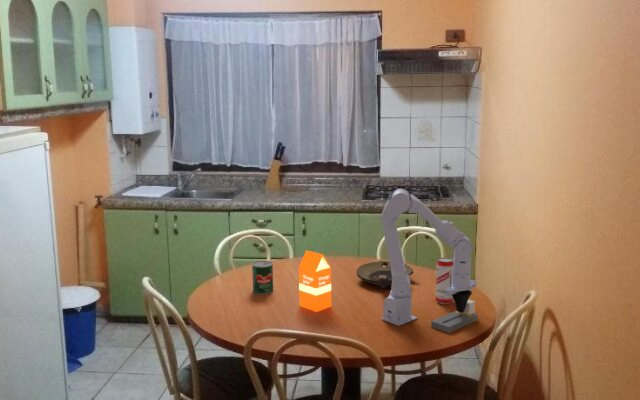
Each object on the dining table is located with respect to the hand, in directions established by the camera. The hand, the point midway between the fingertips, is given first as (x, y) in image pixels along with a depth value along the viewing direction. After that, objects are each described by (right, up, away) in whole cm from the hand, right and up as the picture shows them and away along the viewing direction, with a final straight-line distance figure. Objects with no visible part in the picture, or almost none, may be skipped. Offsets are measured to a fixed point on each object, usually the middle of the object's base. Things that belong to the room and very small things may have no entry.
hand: (460, 311), depth 209 cm
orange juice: (-49, -1, +16) cm, 51 cm away
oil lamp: (-22, +4, +40) cm, 46 cm away
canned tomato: (-69, +2, +33) cm, 76 cm away
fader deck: (-2, -4, -1) cm, 4 cm away
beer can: (-2, 0, +19) cm, 19 cm away
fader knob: (+2, 0, +2) cm, 3 cm away
